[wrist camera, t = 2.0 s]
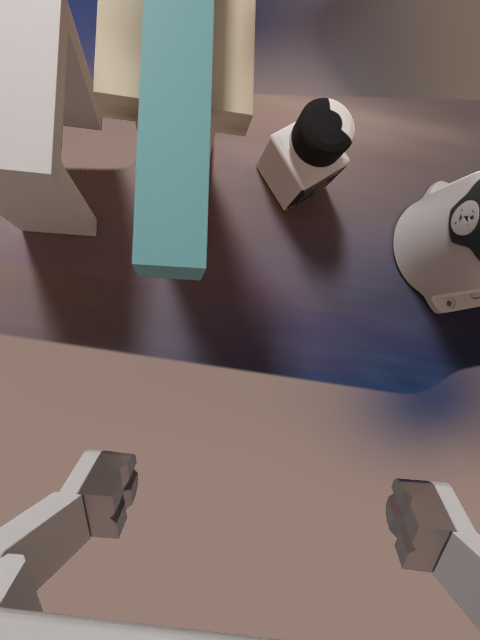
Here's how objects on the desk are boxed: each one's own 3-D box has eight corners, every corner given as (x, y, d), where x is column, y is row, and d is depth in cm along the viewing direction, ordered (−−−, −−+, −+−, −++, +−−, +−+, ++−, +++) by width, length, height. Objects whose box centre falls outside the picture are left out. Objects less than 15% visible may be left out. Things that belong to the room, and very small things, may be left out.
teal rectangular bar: (213, -158, 19) (221, -247, 16) (200, 280, 18) (206, 268, 15) (157, -174, 19) (154, -270, 16) (138, 277, 17) (131, 263, 14)
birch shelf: (209, 129, 45) (258, -145, 20) (206, 244, 44) (252, 115, 19) (144, 120, 44) (107, -188, 18) (139, 239, 43) (93, 91, 17)
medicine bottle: (283, 212, 46) (321, 169, 35) (254, 165, 46) (283, 106, 34) (325, 187, 48) (376, 137, 36) (298, 141, 47) (339, 76, 36)
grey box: (102, 114, 43) (62, -17, 27) (96, 236, 42) (51, 174, 26) (29, 104, 41) (-58, -41, 26) (22, 230, 40) (-74, 161, 25)
